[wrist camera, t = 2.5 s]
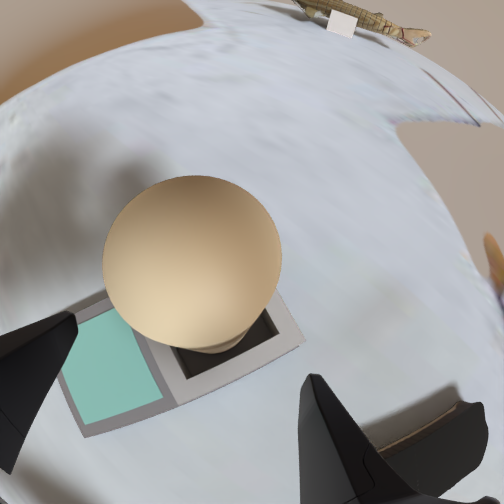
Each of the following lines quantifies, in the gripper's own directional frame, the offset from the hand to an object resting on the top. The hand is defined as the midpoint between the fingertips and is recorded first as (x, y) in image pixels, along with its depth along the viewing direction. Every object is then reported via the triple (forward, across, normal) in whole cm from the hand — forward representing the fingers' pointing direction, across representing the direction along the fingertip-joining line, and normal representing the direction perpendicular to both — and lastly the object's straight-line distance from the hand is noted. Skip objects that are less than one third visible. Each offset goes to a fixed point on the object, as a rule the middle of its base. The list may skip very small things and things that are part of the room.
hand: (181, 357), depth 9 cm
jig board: (+7, +4, +7) cm, 11 cm away
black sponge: (+1, -20, +14) cm, 24 cm away
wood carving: (+56, -14, -40) cm, 70 cm away
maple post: (+8, 0, +4) cm, 10 cm away
